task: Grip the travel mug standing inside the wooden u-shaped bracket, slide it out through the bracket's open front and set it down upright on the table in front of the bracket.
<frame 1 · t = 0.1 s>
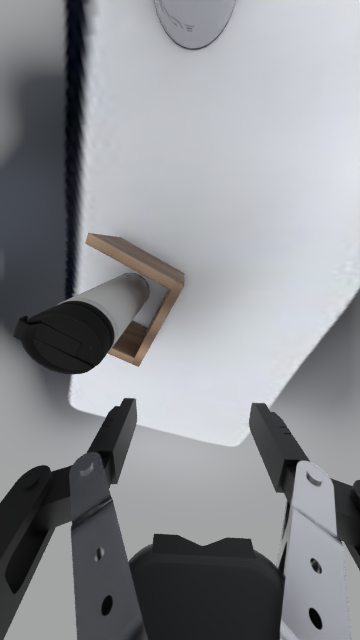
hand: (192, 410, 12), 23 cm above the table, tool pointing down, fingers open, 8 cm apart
wooden u-shaped bracket: (134, 290, 31), on the table
travel mug: (132, 289, 31), on the table
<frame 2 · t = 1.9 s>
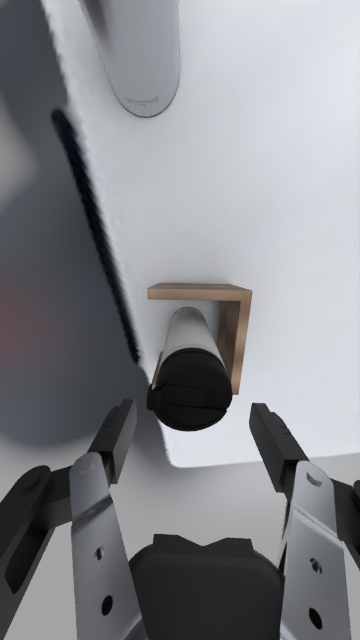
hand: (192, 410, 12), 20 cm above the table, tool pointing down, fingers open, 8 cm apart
wooden u-shaped bracket: (189, 323, 31), on the table
travel mug: (187, 322, 31), on the table
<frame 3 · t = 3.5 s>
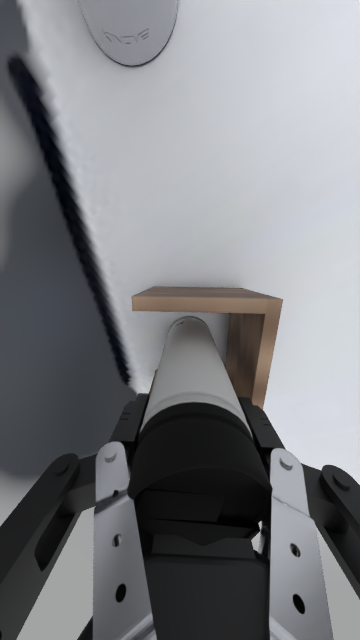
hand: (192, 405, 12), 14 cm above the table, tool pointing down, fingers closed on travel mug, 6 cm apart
wooden u-shaped bracket: (191, 336, 25), on the table
travel mug: (188, 335, 25), on the table, touching gripper
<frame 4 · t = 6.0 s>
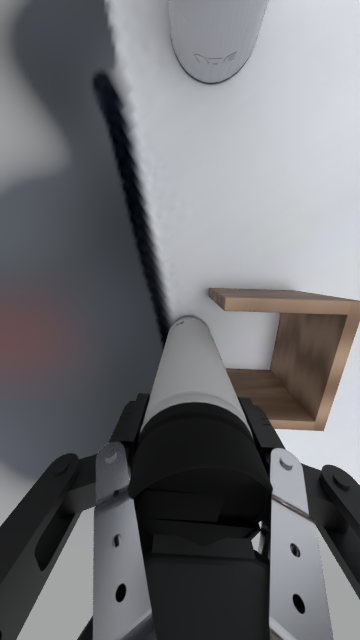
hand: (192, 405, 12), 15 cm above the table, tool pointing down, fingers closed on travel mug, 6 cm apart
wooden u-shaped bracket: (241, 335, 26), on the table
travel mug: (188, 335, 25), point 1 cm above the table, touching gripper
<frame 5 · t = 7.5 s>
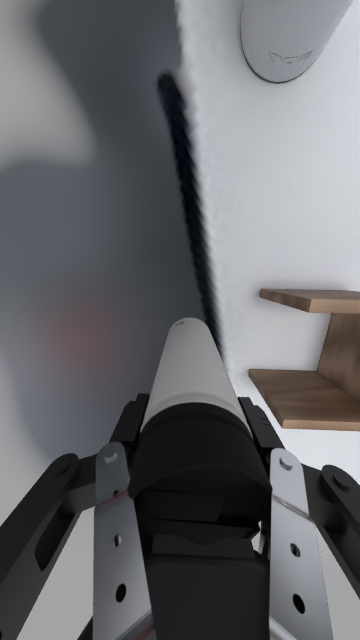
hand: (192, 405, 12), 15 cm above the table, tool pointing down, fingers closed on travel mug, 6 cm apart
wooden u-shaped bracket: (290, 336, 26), on the table
travel mug: (187, 335, 25), point 1 cm above the table, touching gripper
when the fingers open (15 cm above the table, at t = 8.7 s): travel mug stays where it is, on the table.
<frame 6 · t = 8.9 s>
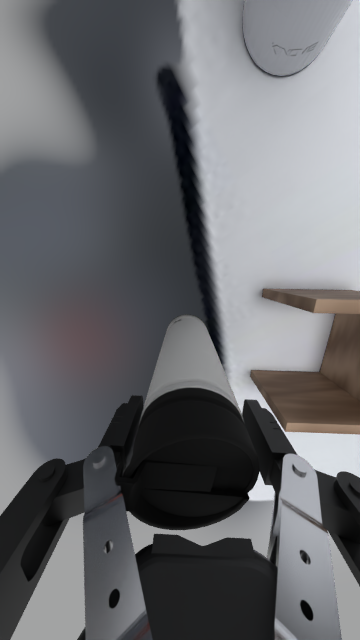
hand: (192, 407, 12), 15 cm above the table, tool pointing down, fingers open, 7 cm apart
wooden u-shaped bracket: (292, 336, 26), on the table
travel mug: (185, 332, 26), on the table, touching gripper
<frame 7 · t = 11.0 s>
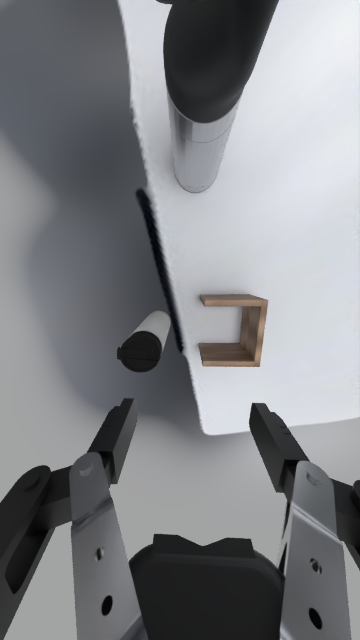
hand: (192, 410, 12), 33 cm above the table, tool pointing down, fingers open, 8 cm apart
wooden u-shaped bracket: (220, 322, 44), on the table
travel mug: (158, 321, 45), on the table
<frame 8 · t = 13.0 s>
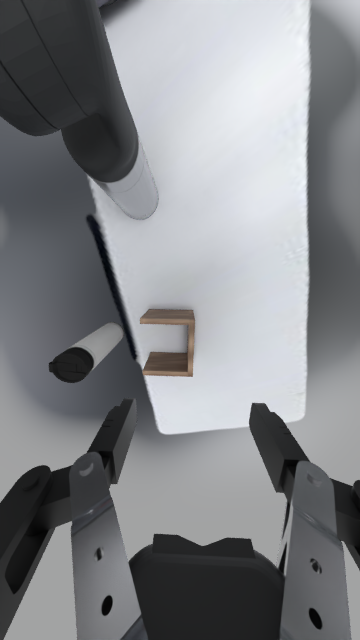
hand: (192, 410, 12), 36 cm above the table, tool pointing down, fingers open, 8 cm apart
wooden u-shaped bracket: (168, 333, 49), on the table
travel mug: (113, 331, 49), on the table
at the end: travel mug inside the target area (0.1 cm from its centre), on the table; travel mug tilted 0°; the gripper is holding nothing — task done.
